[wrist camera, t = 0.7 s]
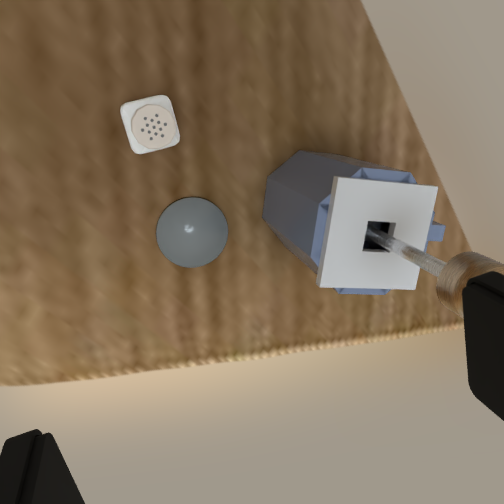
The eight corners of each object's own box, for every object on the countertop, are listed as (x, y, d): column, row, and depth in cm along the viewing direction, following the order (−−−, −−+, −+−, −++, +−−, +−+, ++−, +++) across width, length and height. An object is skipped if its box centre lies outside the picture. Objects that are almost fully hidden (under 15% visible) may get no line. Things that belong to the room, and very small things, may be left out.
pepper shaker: (162, 93, 43) (173, 92, 35) (174, 138, 45) (188, 147, 36) (118, 104, 43) (117, 105, 34) (131, 149, 44) (135, 161, 35)
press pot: (271, 146, 47) (330, 165, 34) (386, 159, 51) (479, 180, 38) (258, 245, 50) (308, 296, 37) (368, 250, 53) (450, 299, 40)
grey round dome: (158, 194, 46) (159, 195, 45) (230, 199, 48) (231, 200, 47) (153, 264, 48) (154, 266, 47) (222, 266, 50) (224, 268, 49)
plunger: (325, 179, 38) (475, 238, 22) (402, 187, 40) (591, 245, 24) (311, 263, 40) (441, 373, 24) (385, 266, 42) (551, 369, 26)
